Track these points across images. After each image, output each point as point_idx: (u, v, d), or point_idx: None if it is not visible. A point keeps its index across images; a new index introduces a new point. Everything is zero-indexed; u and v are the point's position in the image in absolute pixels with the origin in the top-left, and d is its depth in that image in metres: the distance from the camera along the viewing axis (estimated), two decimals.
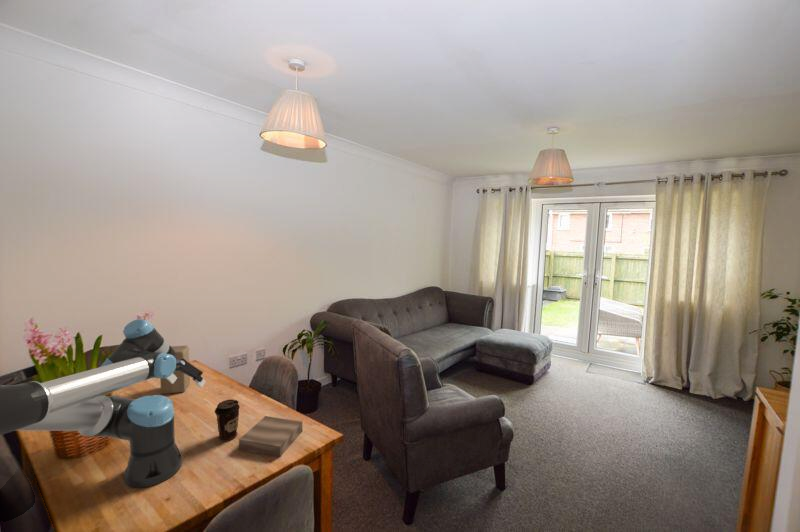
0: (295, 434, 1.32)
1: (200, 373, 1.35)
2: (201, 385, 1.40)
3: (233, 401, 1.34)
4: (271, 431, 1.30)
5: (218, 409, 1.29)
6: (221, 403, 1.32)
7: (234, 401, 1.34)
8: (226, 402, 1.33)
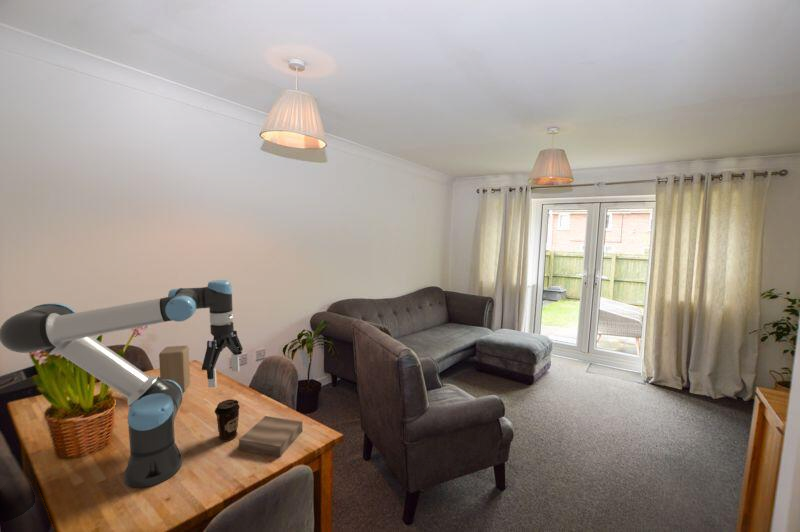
0: (295, 434, 1.32)
1: (206, 367, 1.20)
2: (209, 384, 1.24)
3: (233, 401, 1.34)
4: (271, 431, 1.30)
5: (218, 409, 1.29)
6: (221, 403, 1.32)
7: (234, 401, 1.34)
8: (226, 402, 1.33)
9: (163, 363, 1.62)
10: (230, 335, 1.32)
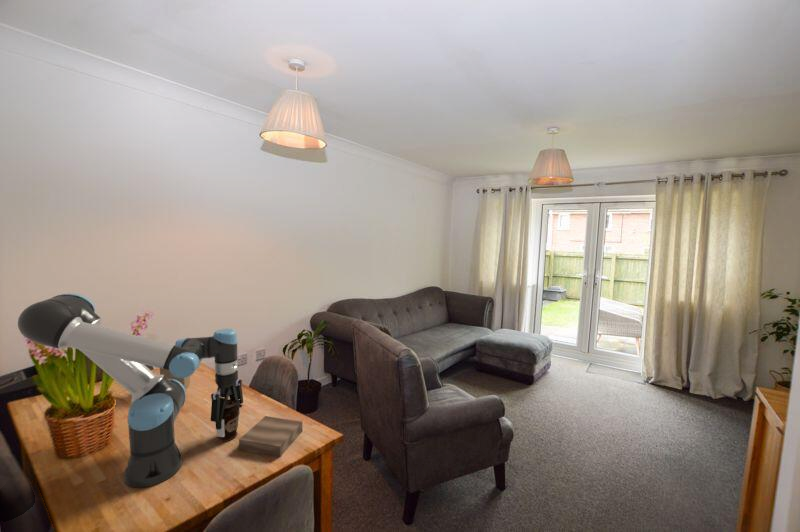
0: (295, 434, 1.32)
1: (214, 419, 1.24)
2: (217, 433, 1.28)
3: (233, 401, 1.34)
4: (271, 431, 1.30)
5: None
6: None
7: (234, 401, 1.34)
8: (226, 402, 1.33)
9: None
10: (235, 383, 1.33)
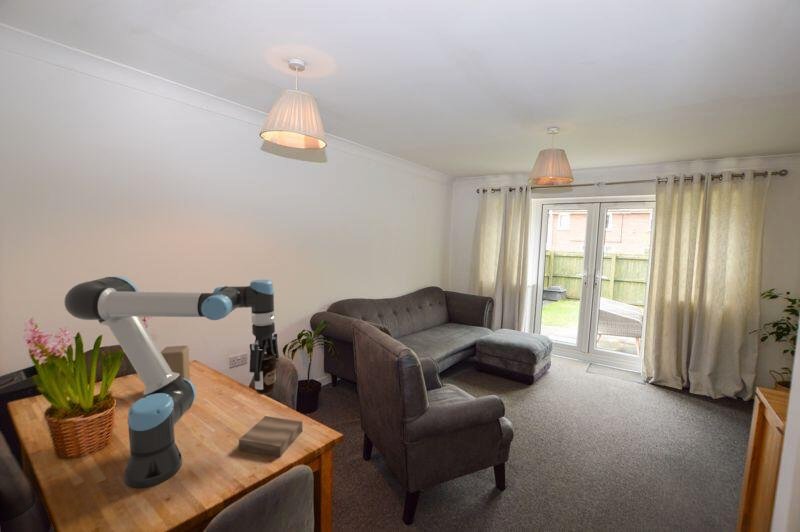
0: (295, 434, 1.32)
1: (253, 370, 1.21)
2: (256, 386, 1.25)
3: (270, 354, 1.30)
4: (271, 431, 1.30)
5: None
6: None
7: (271, 354, 1.30)
8: None
9: None
10: (271, 336, 1.30)
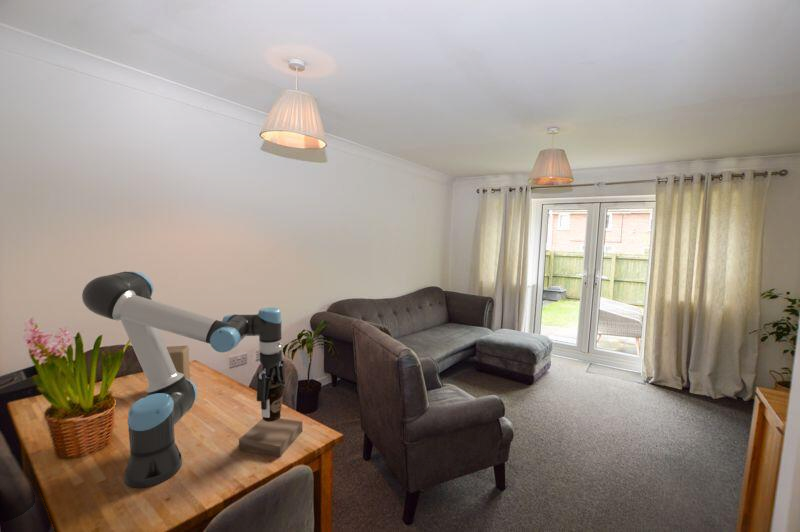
0: (295, 434, 1.32)
1: (260, 399, 1.22)
2: (262, 414, 1.26)
3: (277, 381, 1.31)
4: (271, 431, 1.30)
5: None
6: None
7: (278, 381, 1.31)
8: None
9: None
10: (278, 363, 1.31)
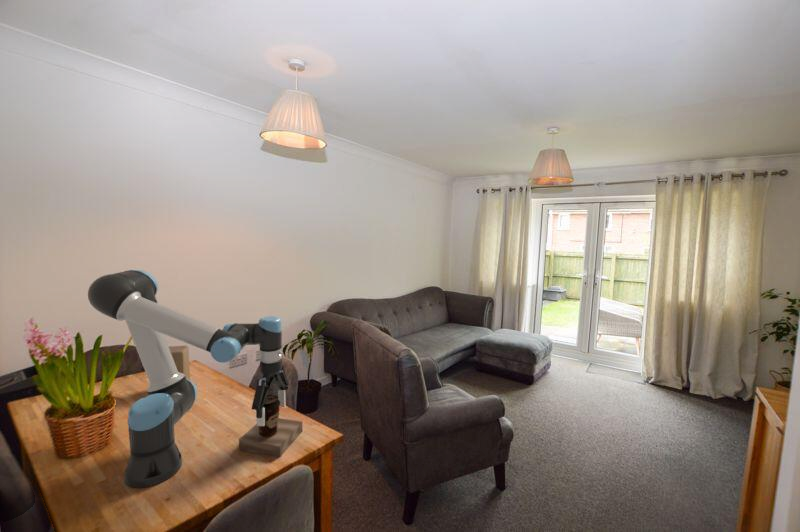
0: (295, 434, 1.32)
1: (256, 407, 1.19)
2: (258, 422, 1.23)
3: (273, 396, 1.30)
4: None
5: None
6: None
7: (274, 396, 1.30)
8: None
9: None
10: (278, 371, 1.31)
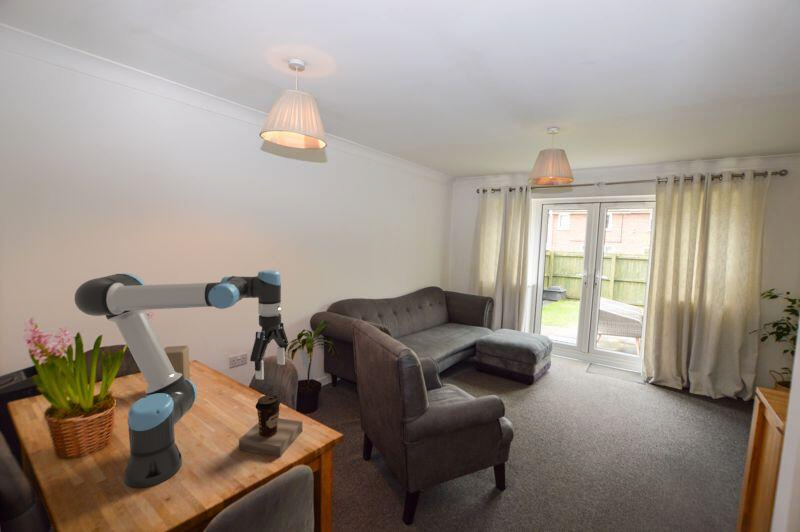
0: (295, 434, 1.32)
1: (254, 359, 1.18)
2: (256, 376, 1.21)
3: (273, 396, 1.30)
4: None
5: (259, 404, 1.25)
6: (261, 398, 1.28)
7: (274, 396, 1.30)
8: (266, 397, 1.29)
9: None
10: (277, 327, 1.29)
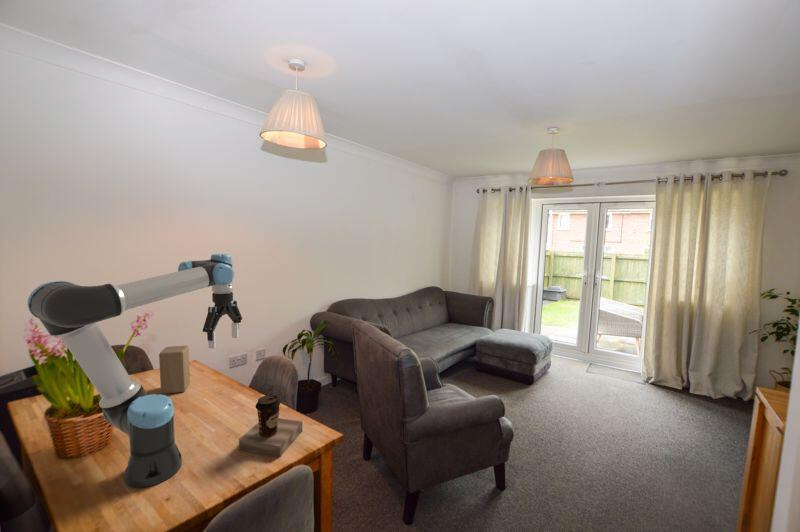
0: (295, 434, 1.32)
1: (206, 330, 1.35)
2: (209, 345, 1.39)
3: (273, 396, 1.30)
4: None
5: (259, 404, 1.25)
6: (261, 398, 1.28)
7: (274, 396, 1.30)
8: (266, 397, 1.29)
9: (163, 363, 1.62)
10: (230, 304, 1.47)
